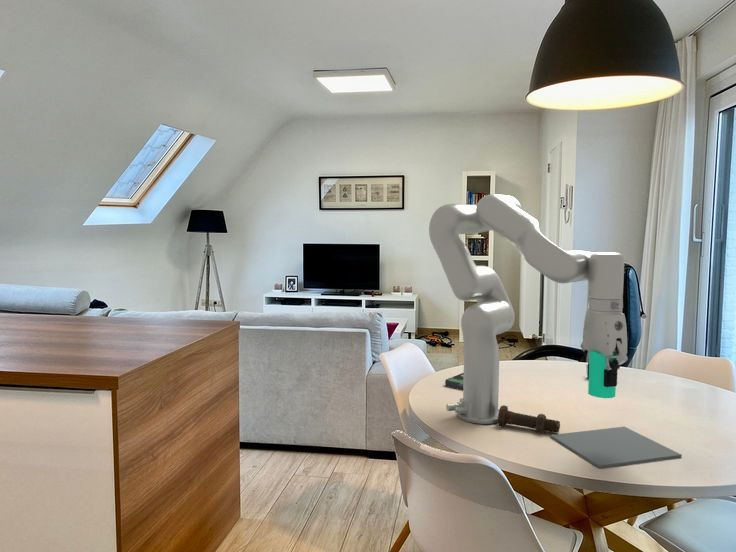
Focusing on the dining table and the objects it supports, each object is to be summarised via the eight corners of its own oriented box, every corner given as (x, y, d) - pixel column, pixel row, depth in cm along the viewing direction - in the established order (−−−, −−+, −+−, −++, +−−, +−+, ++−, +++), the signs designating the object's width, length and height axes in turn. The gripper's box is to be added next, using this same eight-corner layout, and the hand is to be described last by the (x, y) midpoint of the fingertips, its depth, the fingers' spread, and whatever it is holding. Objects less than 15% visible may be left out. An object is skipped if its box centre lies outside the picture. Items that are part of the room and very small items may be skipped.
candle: (592, 389, 130) (594, 340, 129) (618, 393, 126) (620, 343, 125) (584, 394, 125) (586, 344, 124) (611, 400, 121) (613, 347, 120)
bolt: (558, 442, 135) (498, 430, 142) (560, 427, 139) (502, 416, 145) (557, 427, 132) (497, 415, 139) (560, 411, 136) (501, 401, 142)
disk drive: (467, 378, 188) (444, 387, 177) (467, 370, 188) (444, 379, 177) (494, 384, 181) (472, 393, 170) (494, 375, 181) (472, 385, 170)
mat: (599, 468, 116) (599, 465, 116) (550, 437, 133) (550, 434, 133) (681, 457, 122) (681, 454, 122) (624, 428, 139) (624, 426, 139)
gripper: (646, 310, 116) (642, 392, 118) (593, 300, 133) (591, 372, 134) (617, 311, 114) (613, 395, 116) (567, 301, 131) (565, 374, 132)
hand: (601, 382), depth 125 cm, fingers closed on candle, 4 cm apart
